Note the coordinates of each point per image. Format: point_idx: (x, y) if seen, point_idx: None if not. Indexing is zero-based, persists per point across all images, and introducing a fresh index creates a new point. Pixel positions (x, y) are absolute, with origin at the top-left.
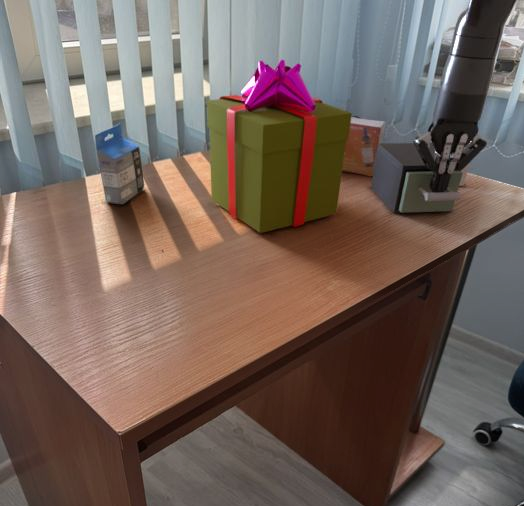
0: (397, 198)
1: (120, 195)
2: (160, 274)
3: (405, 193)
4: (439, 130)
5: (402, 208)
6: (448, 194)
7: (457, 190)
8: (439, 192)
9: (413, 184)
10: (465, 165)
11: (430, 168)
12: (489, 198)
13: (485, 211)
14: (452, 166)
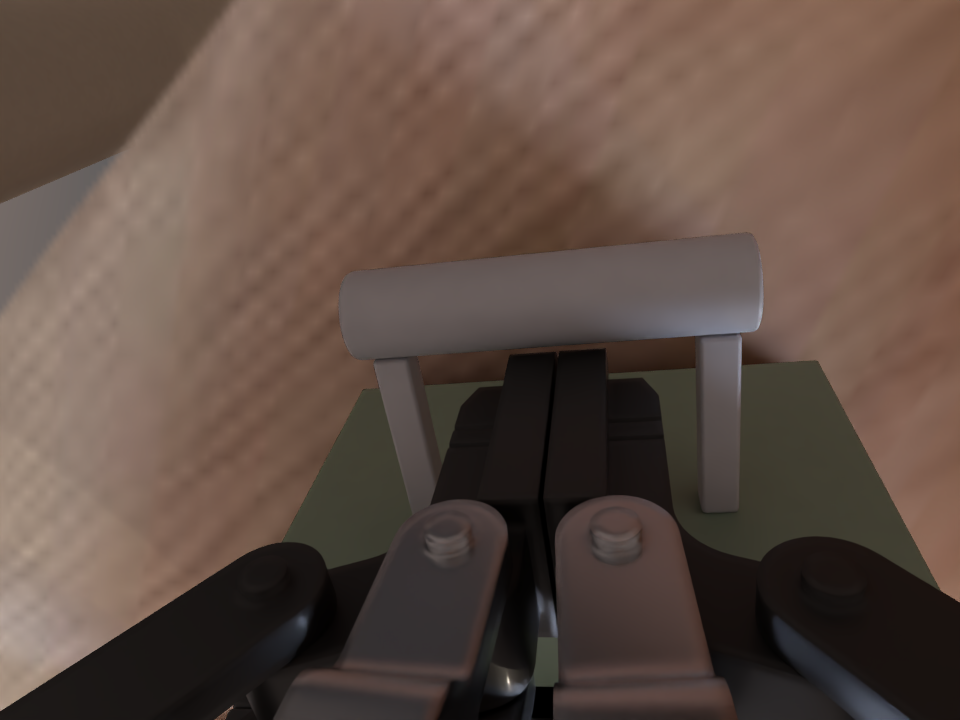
0: None
1: None
2: None
3: (869, 464)
4: None
5: (821, 379)
6: (476, 290)
7: (310, 496)
8: (579, 333)
9: (820, 534)
10: (191, 601)
11: (874, 564)
12: (82, 591)
13: (121, 430)
14: (425, 589)
